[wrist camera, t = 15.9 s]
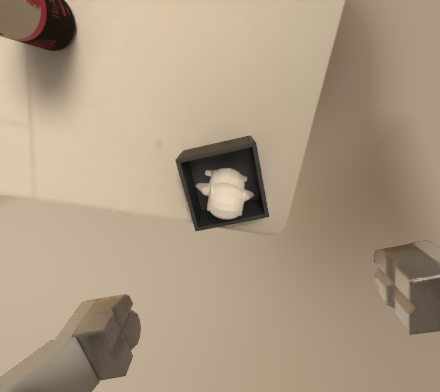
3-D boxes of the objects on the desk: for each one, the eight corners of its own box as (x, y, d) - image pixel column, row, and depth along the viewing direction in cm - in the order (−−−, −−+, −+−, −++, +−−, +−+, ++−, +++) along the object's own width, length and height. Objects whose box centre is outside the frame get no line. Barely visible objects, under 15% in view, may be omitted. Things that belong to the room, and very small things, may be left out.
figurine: (196, 186, 40) (186, 219, 29) (201, 155, 39) (192, 178, 27) (249, 194, 41) (259, 231, 29) (256, 165, 39) (269, 191, 28)
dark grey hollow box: (250, 135, 38) (255, 142, 32) (262, 199, 41) (269, 217, 35) (182, 150, 39) (175, 160, 33) (199, 212, 42) (195, 231, 36)
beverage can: (79, 1, 33) (-28, -73, 19) (73, 58, 35) (-28, 29, 21) (25, -17, 32) (-127, -109, 18) (22, 41, 35) (-117, 0, 20)
